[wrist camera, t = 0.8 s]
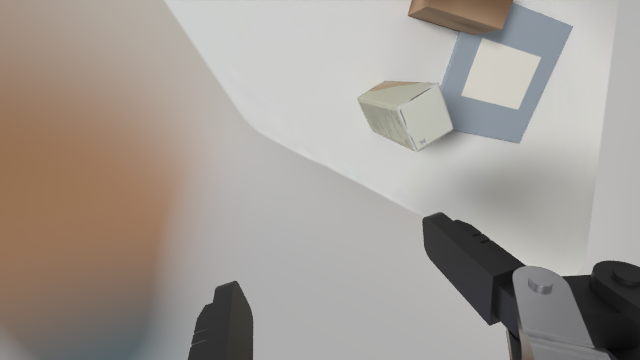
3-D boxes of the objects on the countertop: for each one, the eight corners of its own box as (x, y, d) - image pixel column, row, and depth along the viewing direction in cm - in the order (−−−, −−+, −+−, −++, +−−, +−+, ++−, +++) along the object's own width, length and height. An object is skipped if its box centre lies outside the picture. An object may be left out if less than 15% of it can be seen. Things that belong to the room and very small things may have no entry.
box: (399, 115, 36) (456, 132, 26) (371, 132, 36) (417, 156, 26) (384, 78, 33) (440, 81, 23) (355, 96, 33) (397, 107, 23)
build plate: (473, -10, 32) (478, -12, 31) (568, 27, 36) (573, 26, 36) (428, 124, 37) (431, 125, 36) (515, 142, 41) (519, 143, 41)
